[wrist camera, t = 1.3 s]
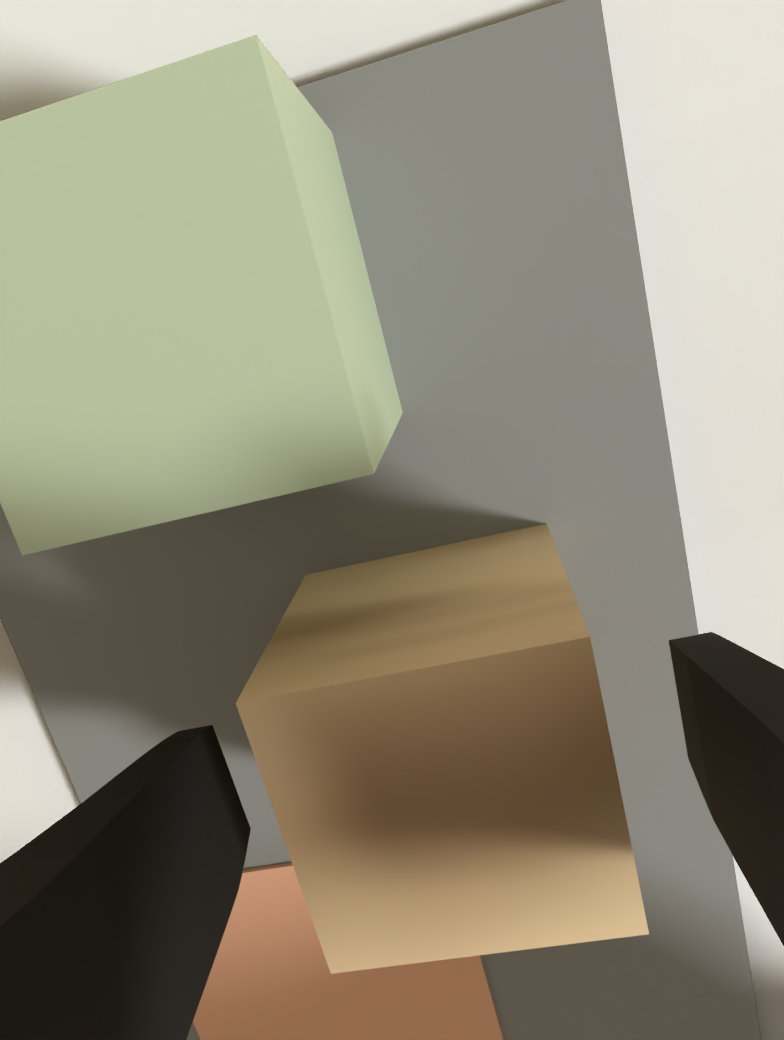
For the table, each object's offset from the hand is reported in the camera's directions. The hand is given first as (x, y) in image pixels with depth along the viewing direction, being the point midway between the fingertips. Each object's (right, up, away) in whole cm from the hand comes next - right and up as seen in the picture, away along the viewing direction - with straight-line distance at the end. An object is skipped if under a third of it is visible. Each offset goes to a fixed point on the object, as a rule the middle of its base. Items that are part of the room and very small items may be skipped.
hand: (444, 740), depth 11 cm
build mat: (-1, 0, +4) cm, 4 cm away
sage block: (-3, +7, +1) cm, 8 cm away
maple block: (0, +1, +3) cm, 3 cm away
